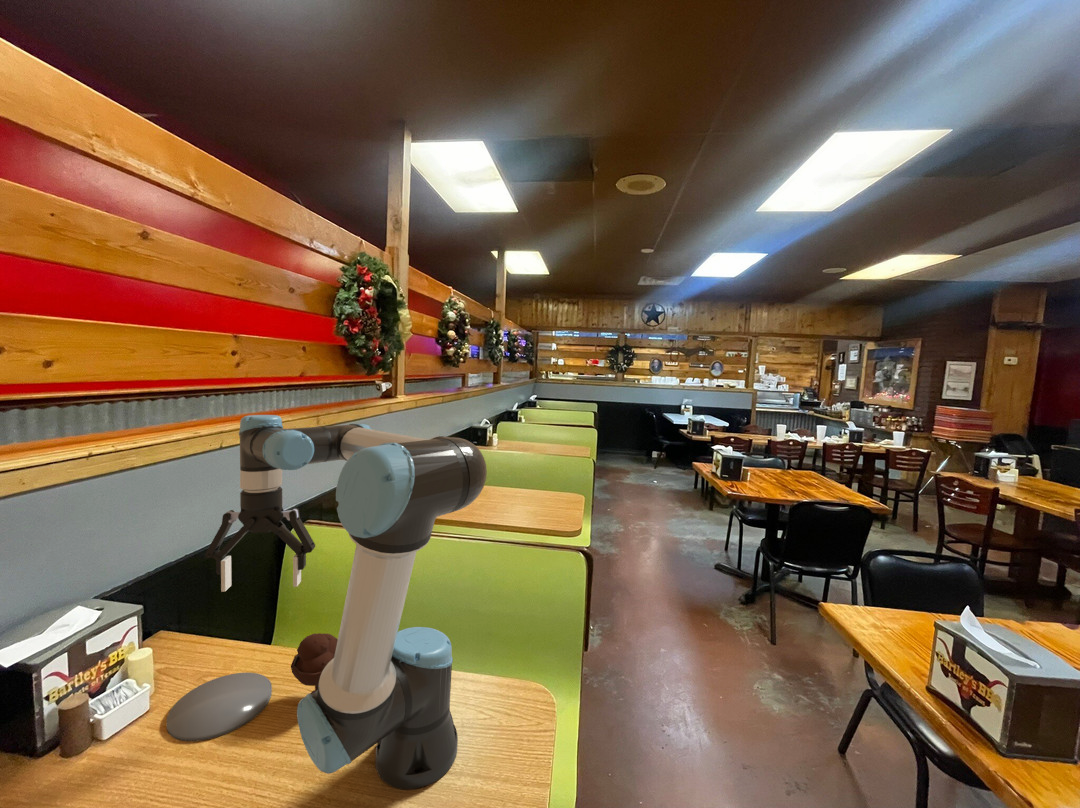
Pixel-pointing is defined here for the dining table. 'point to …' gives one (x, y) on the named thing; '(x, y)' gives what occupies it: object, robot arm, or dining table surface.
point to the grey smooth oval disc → (219, 706)
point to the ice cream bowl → (313, 658)
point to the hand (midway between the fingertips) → (262, 586)
